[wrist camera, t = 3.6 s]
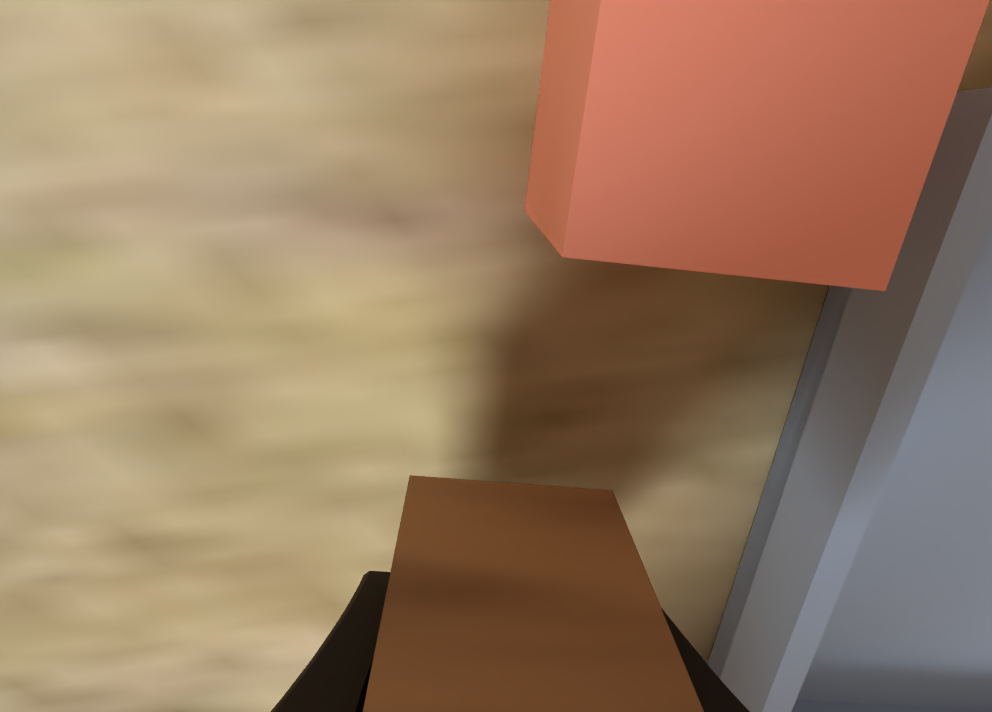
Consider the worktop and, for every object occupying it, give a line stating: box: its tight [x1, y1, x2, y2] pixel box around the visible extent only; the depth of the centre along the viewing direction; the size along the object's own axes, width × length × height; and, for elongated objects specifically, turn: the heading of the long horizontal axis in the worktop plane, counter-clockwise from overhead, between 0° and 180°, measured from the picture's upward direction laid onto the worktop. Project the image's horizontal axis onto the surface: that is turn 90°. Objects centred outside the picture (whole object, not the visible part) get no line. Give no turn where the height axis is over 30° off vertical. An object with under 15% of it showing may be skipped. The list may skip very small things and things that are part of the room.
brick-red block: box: [524, 0, 990, 291], centre depth 9 cm, size 4×4×6 cm
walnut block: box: [363, 476, 704, 712], centre depth 10 cm, size 4×4×6 cm
